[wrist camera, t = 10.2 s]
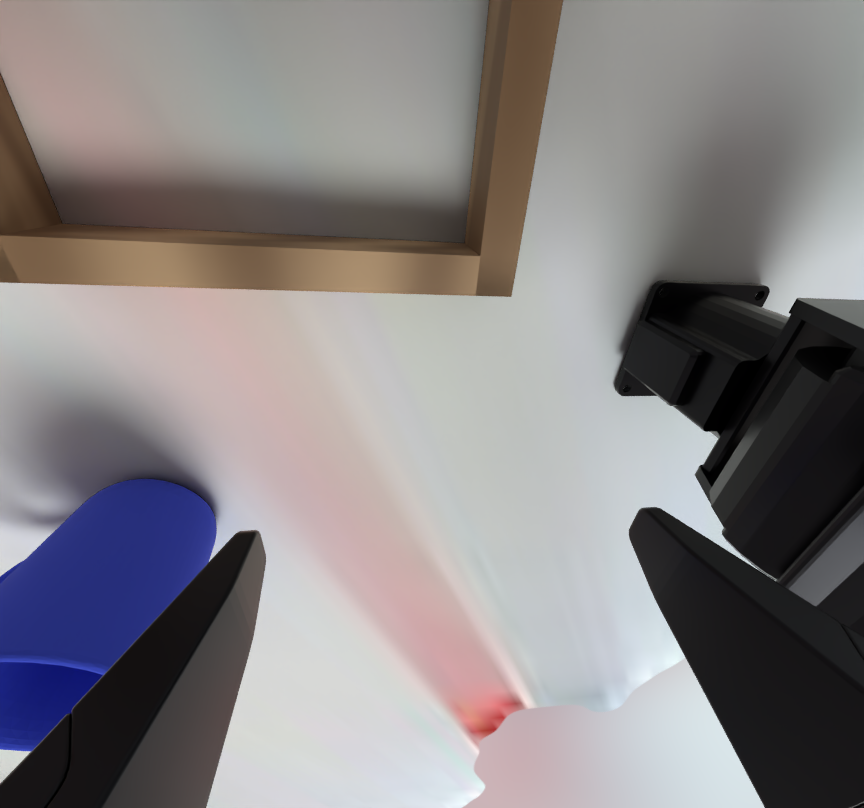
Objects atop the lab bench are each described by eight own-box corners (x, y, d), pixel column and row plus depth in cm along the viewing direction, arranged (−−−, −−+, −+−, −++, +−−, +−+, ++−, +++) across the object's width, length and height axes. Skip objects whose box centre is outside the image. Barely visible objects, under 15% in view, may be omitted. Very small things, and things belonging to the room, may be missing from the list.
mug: (-24, 494, 20) (-300, 720, 12) (191, 446, 21) (65, 636, 12) (80, 579, 25) (-70, 786, 17) (256, 539, 25) (196, 725, 17)
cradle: (566, -237, 10) (627, -367, 8) (492, 278, 18) (511, 296, 15) (-295, -445, 8) (-619, -742, 5) (37, 262, 15) (-31, 281, 13)
